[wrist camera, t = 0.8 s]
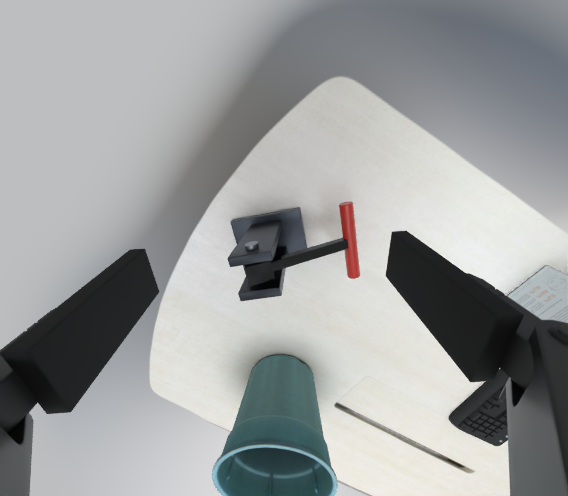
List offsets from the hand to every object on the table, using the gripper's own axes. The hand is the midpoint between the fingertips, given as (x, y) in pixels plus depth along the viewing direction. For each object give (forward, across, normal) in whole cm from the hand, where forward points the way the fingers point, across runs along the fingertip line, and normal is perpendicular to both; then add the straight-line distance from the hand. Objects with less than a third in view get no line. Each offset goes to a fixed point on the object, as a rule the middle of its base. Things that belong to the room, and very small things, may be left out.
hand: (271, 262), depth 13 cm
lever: (+13, +3, -6) cm, 15 cm away
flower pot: (+20, -1, -36) cm, 41 cm away
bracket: (+22, -1, -7) cm, 23 cm away
